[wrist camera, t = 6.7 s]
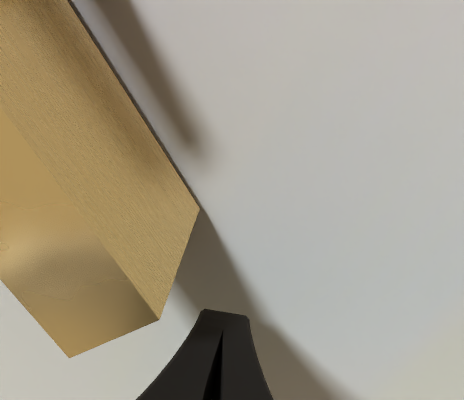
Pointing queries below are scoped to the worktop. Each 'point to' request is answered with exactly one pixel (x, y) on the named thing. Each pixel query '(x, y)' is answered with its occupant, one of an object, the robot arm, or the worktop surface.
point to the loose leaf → (81, 185)
